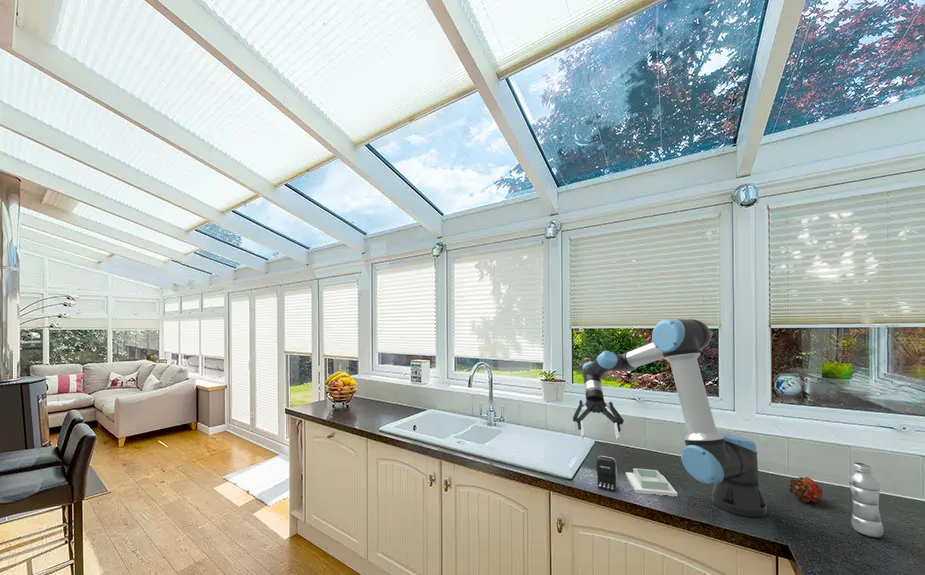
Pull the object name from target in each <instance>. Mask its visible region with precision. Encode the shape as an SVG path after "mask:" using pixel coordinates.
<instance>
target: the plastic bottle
mask: <svg viewBox="0 0 925 575" xmlns="http://www.w3.org/2000/svg"><path fill="white" fill-rule="evenodd" d="M852 468H853V470H854V472H852V473H851V474H850V475H849V477H848V483H849V485H848V486H849V488H850V492H851V498H852V513H851V518H850V523H851V526H852V527H853V528H854V530H855V531H856V532H858V533H860V534H862V535H865V536H867V537H870V538H871V537H872V538H881V537H882V536H883V535H884V525H883V523H882V520H881V513H880V510H879V509H880V508H879V507H880V505H879V498H880V492H881V491H880V490H881V486H880V484H879V482H878V481H877V479H876V478H875V477H874V476H873V470H872V465H870V464H867V463H862V462H856V461H855V462H854V461H853V467H852Z"/></svg>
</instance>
